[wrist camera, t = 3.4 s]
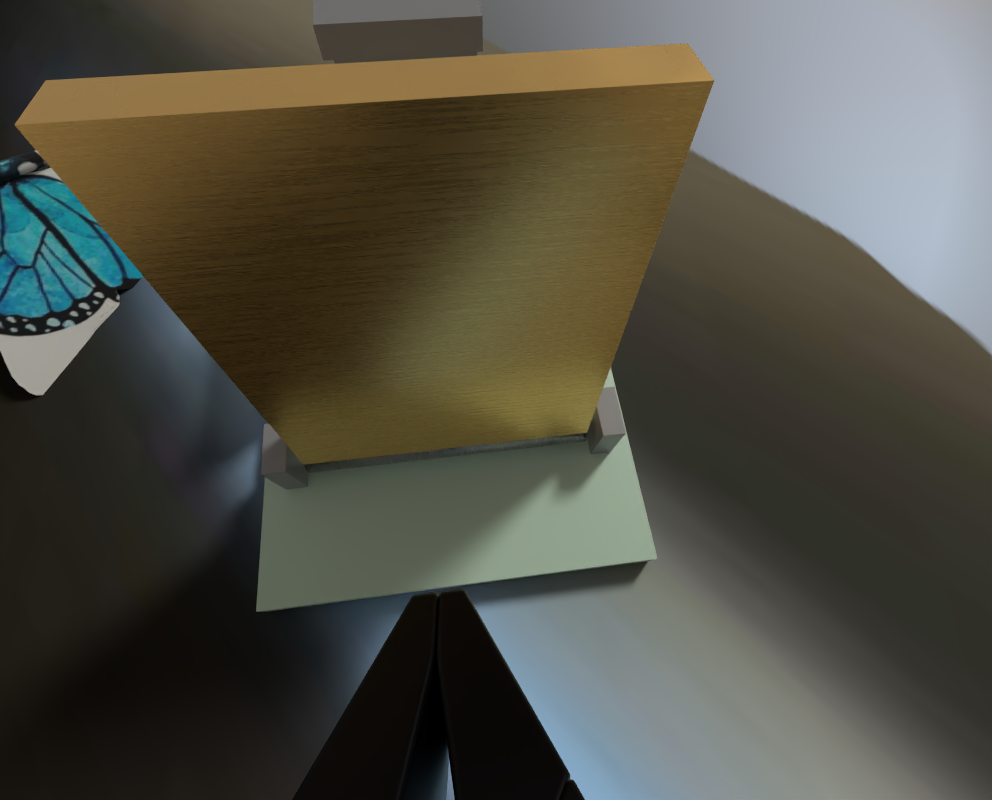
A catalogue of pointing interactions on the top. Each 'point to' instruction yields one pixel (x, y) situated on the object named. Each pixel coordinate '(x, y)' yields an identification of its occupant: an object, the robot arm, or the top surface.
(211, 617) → the top surface
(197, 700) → the top surface
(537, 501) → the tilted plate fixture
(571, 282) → the gold rectangular plate
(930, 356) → the top surface
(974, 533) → the top surface
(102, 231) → the decorative butterfly
